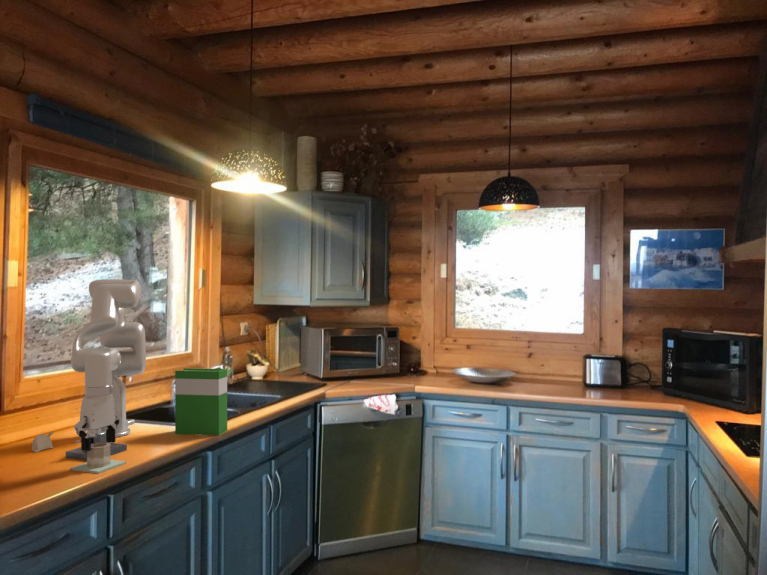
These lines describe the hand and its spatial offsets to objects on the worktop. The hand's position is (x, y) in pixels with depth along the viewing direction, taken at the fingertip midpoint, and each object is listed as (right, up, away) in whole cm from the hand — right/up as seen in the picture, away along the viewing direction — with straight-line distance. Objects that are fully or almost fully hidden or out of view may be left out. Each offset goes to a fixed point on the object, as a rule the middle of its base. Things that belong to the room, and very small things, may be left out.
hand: (98, 446), depth 185 cm
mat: (0, -6, -1) cm, 6 cm away
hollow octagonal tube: (0, -6, 0) cm, 6 cm away
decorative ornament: (-29, -7, +20) cm, 36 cm away
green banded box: (+19, -7, +44) cm, 48 cm away
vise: (-7, -6, +14) cm, 17 cm away
